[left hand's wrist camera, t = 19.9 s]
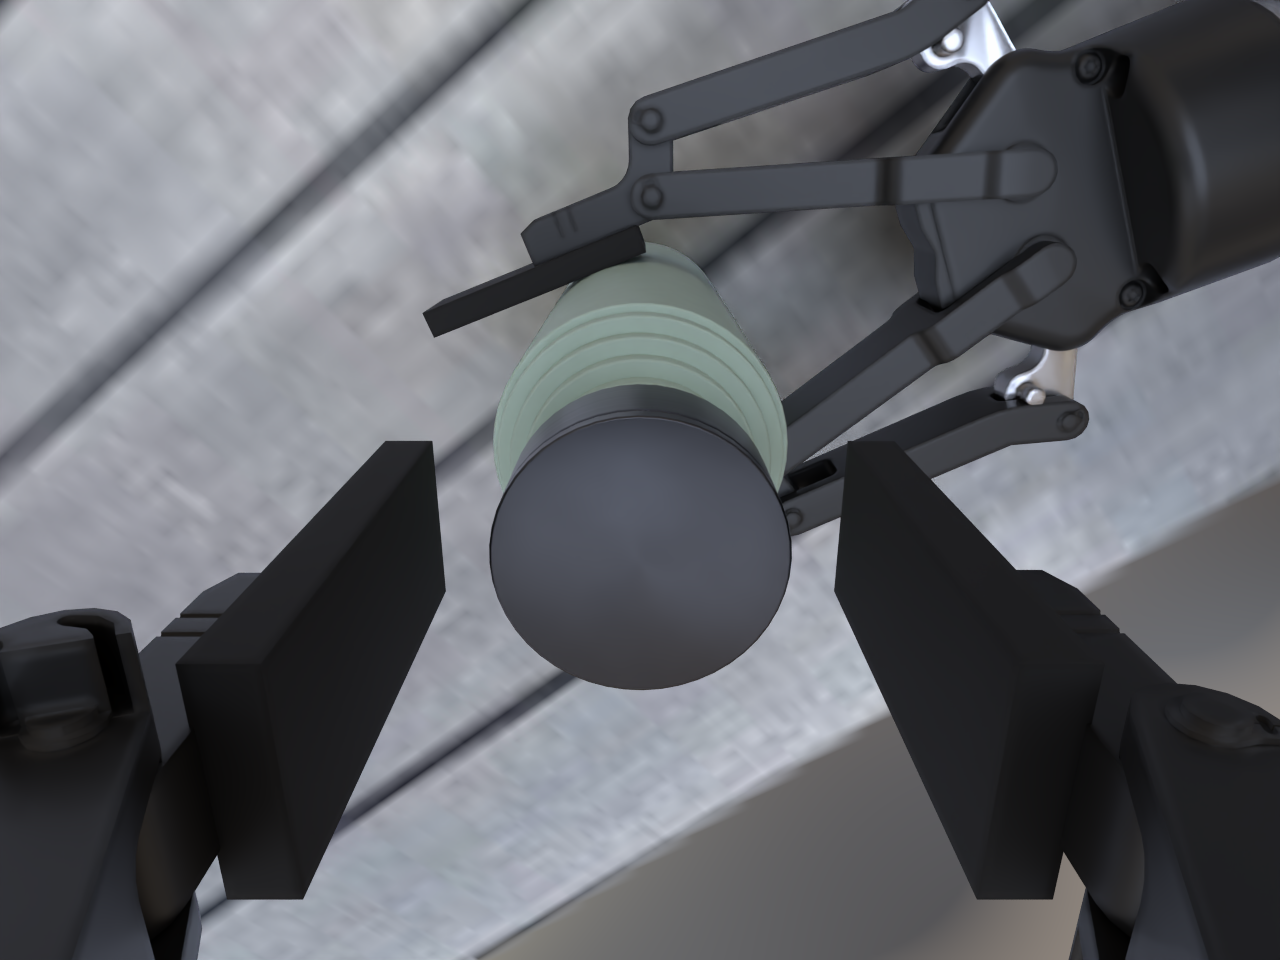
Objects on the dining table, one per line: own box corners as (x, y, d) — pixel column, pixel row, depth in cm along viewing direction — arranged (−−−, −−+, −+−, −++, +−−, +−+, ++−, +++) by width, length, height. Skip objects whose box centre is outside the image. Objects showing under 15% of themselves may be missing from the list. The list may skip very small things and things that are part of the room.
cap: (458, 537, 14) (431, 590, 13) (610, 327, 13) (605, 351, 11) (665, 670, 15) (669, 738, 13) (827, 485, 14) (854, 532, 12)
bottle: (751, 348, 32) (906, 594, 13) (618, 433, 33) (590, 768, 14) (664, 207, 30) (703, 264, 11) (527, 302, 31) (361, 493, 13)
